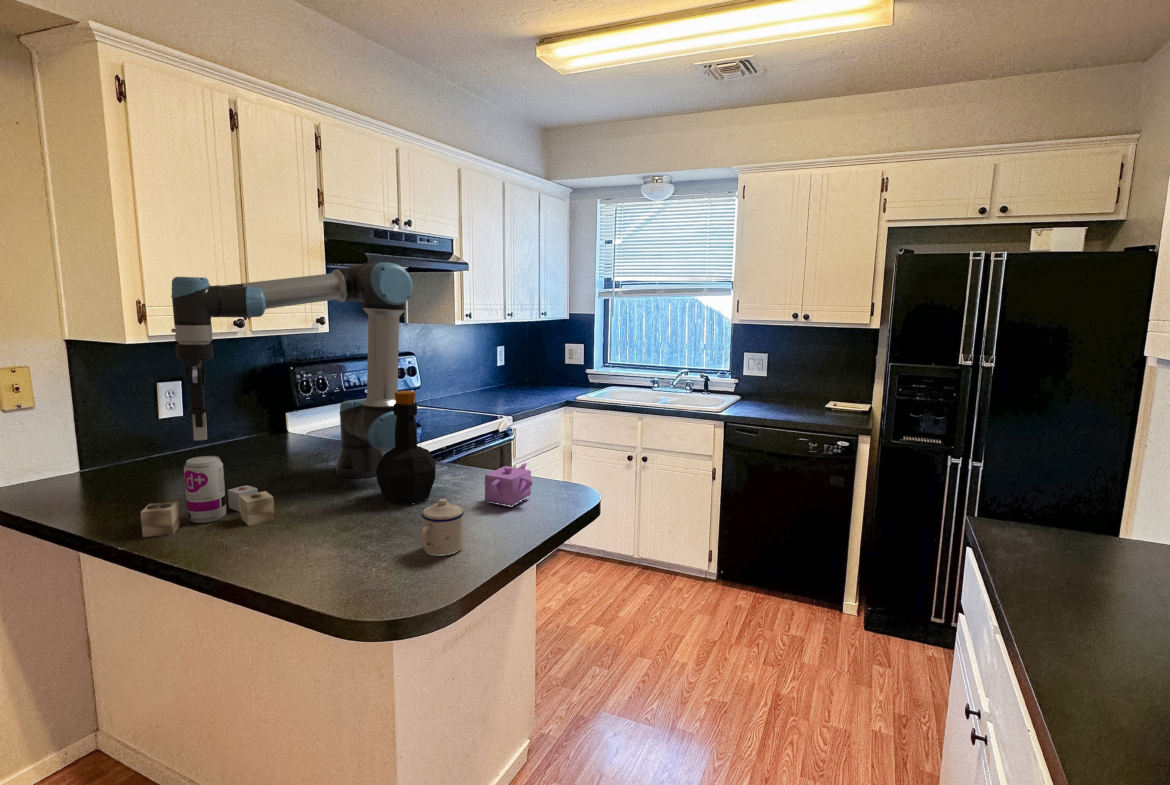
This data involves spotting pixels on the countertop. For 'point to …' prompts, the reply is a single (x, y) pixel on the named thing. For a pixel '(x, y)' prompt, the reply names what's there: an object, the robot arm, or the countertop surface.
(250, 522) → the maple block
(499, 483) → the teapot
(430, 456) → the bottle
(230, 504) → the grey plastic block
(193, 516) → the supplement can
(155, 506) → the maple block
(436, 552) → the teacup with lid
